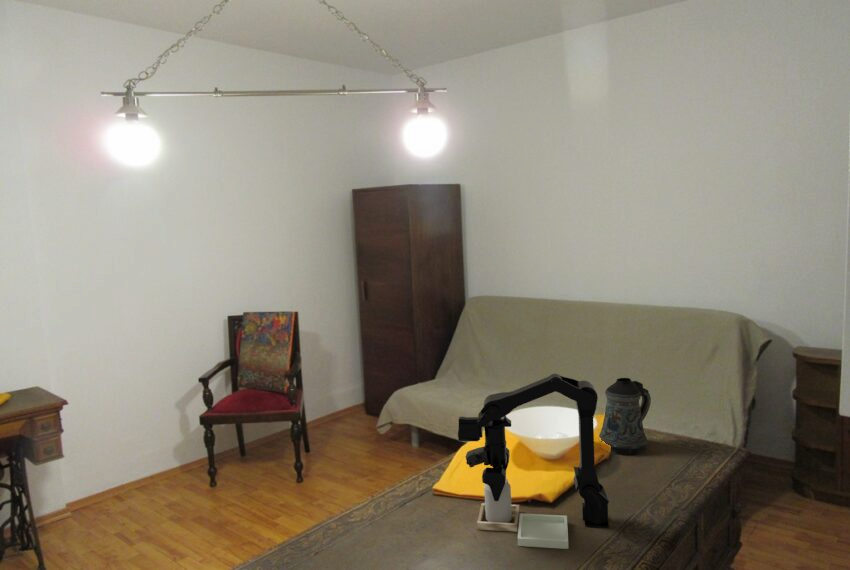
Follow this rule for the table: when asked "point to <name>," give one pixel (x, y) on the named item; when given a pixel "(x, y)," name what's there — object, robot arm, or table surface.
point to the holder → (498, 525)
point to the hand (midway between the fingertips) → (497, 493)
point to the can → (498, 505)
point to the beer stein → (625, 417)
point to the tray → (543, 531)
